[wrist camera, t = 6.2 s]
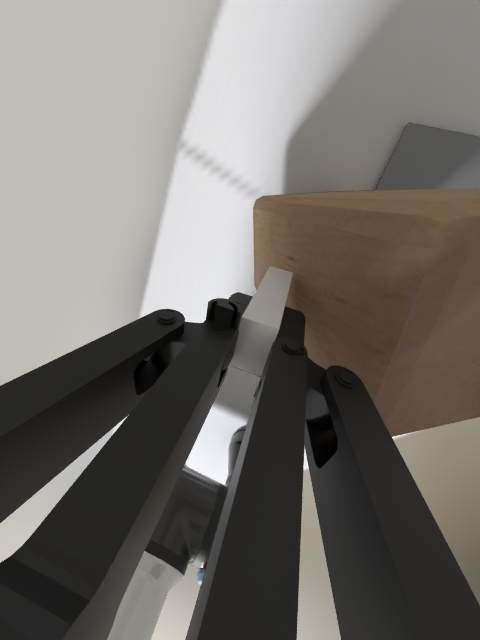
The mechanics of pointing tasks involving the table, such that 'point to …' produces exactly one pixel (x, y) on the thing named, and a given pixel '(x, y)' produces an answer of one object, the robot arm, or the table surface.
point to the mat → (433, 160)
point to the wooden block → (385, 292)
